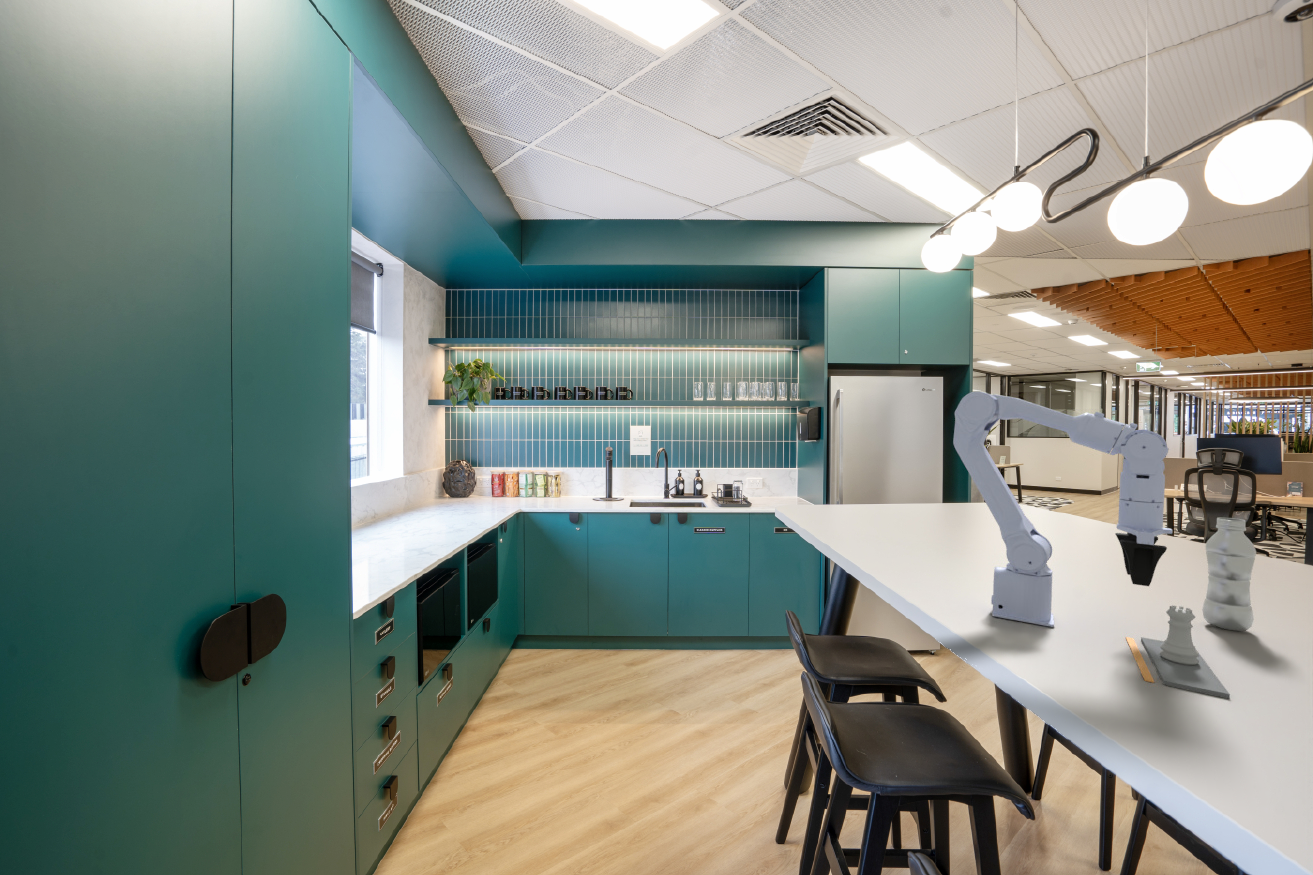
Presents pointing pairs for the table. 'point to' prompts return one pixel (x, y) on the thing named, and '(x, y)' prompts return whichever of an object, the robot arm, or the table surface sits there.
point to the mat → (1184, 672)
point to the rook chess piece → (1180, 638)
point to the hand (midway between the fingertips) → (1137, 579)
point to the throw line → (1139, 660)
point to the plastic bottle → (1229, 576)
